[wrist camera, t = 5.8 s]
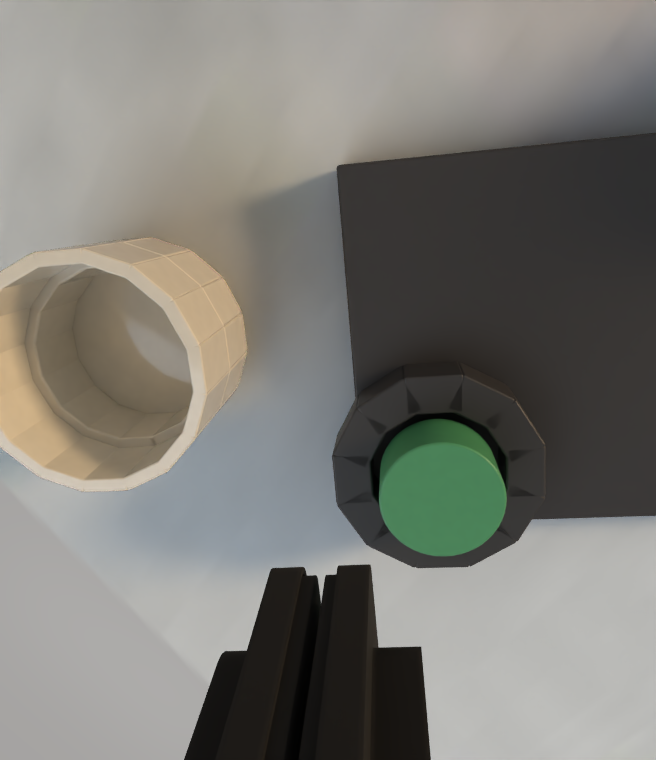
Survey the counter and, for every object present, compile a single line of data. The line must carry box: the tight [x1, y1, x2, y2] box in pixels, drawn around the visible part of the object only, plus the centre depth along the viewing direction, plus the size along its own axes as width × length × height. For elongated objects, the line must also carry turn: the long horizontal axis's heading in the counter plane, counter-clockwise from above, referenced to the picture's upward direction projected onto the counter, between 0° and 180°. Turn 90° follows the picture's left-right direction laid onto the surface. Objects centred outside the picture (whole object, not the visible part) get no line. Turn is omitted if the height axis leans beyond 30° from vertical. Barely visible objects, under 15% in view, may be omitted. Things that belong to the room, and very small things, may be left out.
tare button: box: [379, 419, 507, 556], centre depth 19 cm, size 4×4×2 cm
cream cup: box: [0, 237, 247, 492], centre depth 19 cm, size 7×7×6 cm
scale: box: [332, 133, 656, 568], centre depth 19 cm, size 15×13×3 cm
